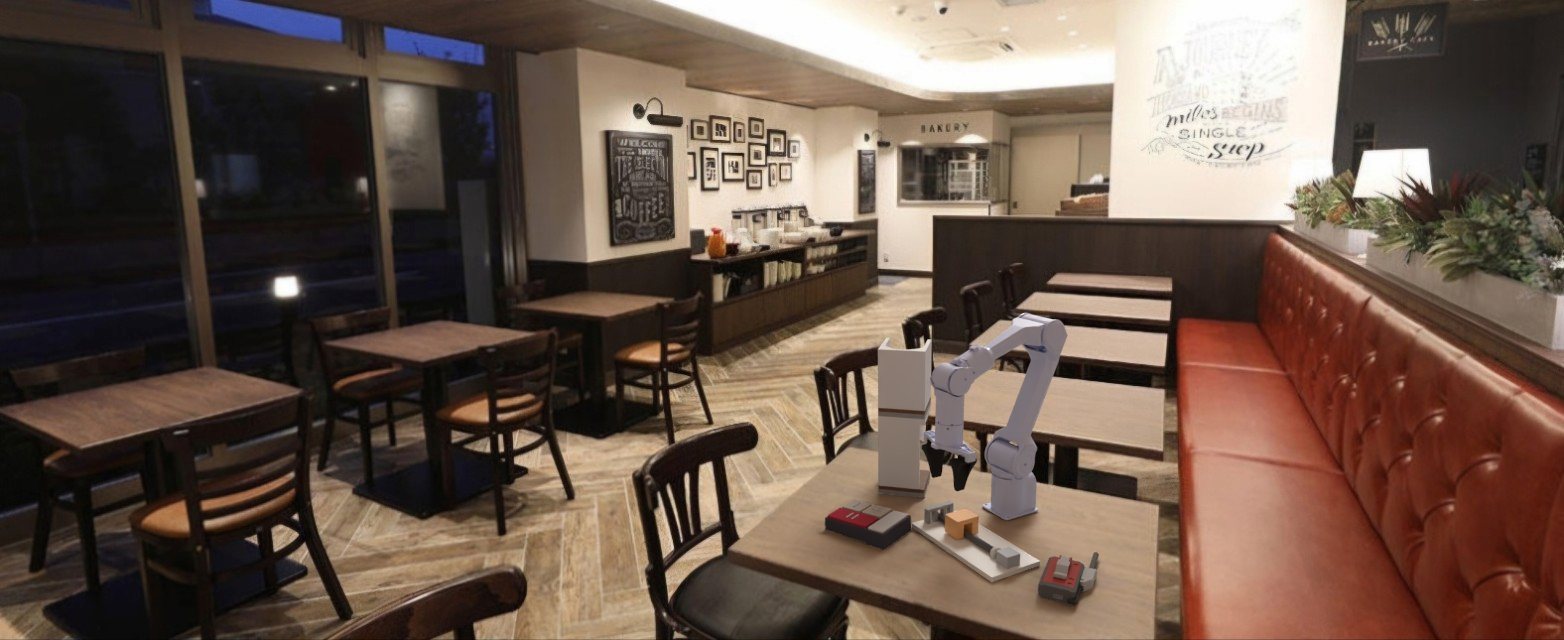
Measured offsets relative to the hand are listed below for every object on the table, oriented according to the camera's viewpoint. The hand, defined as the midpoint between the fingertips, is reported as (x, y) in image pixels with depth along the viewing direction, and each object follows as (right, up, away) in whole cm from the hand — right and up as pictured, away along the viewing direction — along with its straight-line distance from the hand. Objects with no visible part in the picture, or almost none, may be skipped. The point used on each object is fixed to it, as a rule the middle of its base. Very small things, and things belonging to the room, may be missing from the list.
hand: (947, 483), depth 166 cm
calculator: (-16, -11, +4) cm, 20 cm away
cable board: (+4, -12, -5) cm, 13 cm away
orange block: (+2, -10, -2) cm, 10 cm away
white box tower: (-5, -6, +24) cm, 25 cm away
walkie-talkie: (+19, -15, -17) cm, 30 cm away
